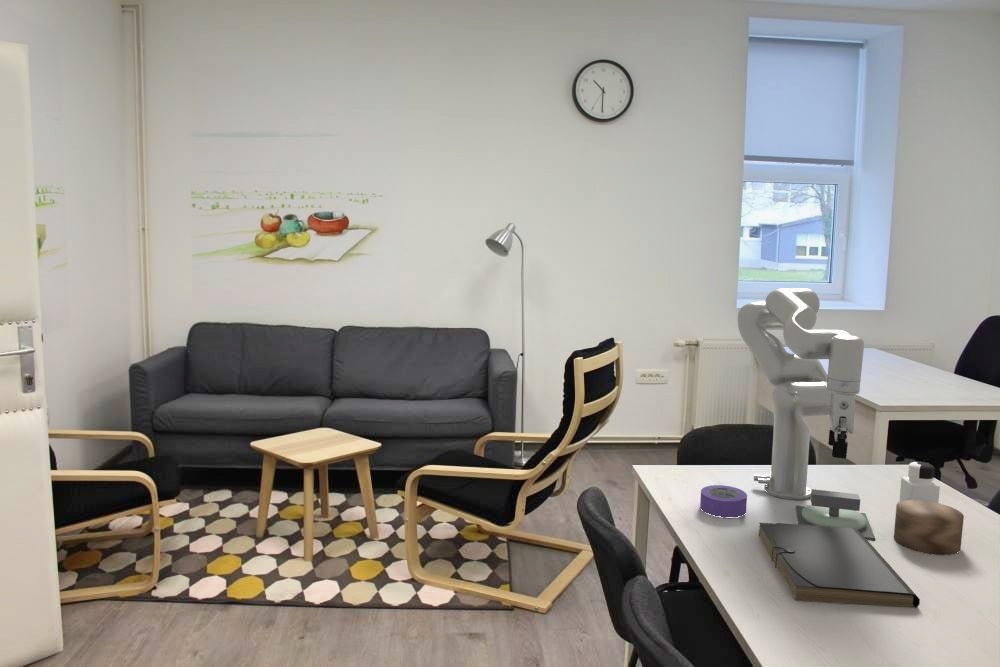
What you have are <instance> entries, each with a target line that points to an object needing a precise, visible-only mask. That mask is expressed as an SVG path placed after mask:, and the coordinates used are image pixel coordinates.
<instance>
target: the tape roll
mask: <svg viewBox="0 0 1000 667" xmlns="http://www.w3.org/2000/svg"><path fill="white" fill-rule="evenodd" d="M747 502H748V494H747V493H746V492H745V491H744V490H743V489H741V488H737V487H736V486H735V487H734V486H729V485H723V484H714V485H707V486H704V487H702V488H701V490H700V502H699V503H700V504H699V505H700V506H699V509H700V508H701V509H702V510H703V511H704V512H706V513H709V514H711V515H715V516H721V517H738V516H742V515H744V514H745V513H746V514H747V504H748V503H747ZM701 509H700V510H701ZM704 512H703V513H704ZM706 513H705V514H706ZM746 514H745V515H746ZM745 515H744V516H745Z"/></svg>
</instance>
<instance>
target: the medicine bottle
mask: <svg viewBox="0 0 1000 667" xmlns="http://www.w3.org/2000/svg"><path fill="white" fill-rule="evenodd" d="M935 470H936V468H935V466H934V465H932V464H930V463H929V462H924V461H913V462H910V463H909V464H908V471H907V472H908V473H907V476H901V479H900V490H899V502H901V501H906V500H921V501H929V502H935V503H939V502H940V501H939V500H940V499H939V498H940V492H941V491H940V490H941V486H940V485H938V483H936V482H934V480H935Z"/></svg>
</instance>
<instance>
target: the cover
mask: <svg viewBox="0 0 1000 667" xmlns="http://www.w3.org/2000/svg"><path fill="white" fill-rule="evenodd" d="M810 489H811V497H810V503H811V504H809V505H806V506H805V505H804V506H805V507H804V508H803V509H802V519H803V520H804V521H805V522H807V523H808V524H810V525H816V526H830V527H845V528H854V529H857V530H858V531H862V530H864V529H865V527H866V518H865V517H864V516H863V515H862V514H861V513H862V512H860V508H861V498H860V495H859V494H858V493H849V492H842V491H841V492H839V491H831V490H823V489H815V488H813V489H812V488H810Z"/></svg>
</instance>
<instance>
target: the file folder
mask: <svg viewBox="0 0 1000 667" xmlns="http://www.w3.org/2000/svg"><path fill="white" fill-rule="evenodd" d="M758 523H759V529H758V536H759V537H760V538H761V540H762V542H763V545H764V546H765V548H766V550H767V552H768V554H769V555H770V557H771V560H773V561H774V562H775V569H777V568H778V570H779V571H780V573H781V574H782V575H783V577H784V578H785V579H786V581H787V584H789V587H790V589H791V593H792V596H793V597H794V600H795V601H801V602H802V601H803V602H813V603H814V602H817V603H830V604H843V605H844V604H847V605H849V604H850V605H851V604H853V605H854V604H855V605H872V606H886V607H900V608H901V607H902V608H903V607H905V608H906V607H907V608H913V606H914V608H915V609H916V608H918V607H919V606H920V604H921V603H920V601H921V599H920V597H919V596H918V595H916V593H915V592H914V591H913V590H912V588H910V586H909V585H908V584H907V583H906V582H905V580H903V578H902V577H901V576H900V575H899V574H898V573H897V572H896V571H895V569H893V567H892V566H891V565H890V564H889V562H887V561H886V559H885V558H884V557H883V556H882V555H881V554H880V553H879V552H878V550H877V549H876V548H875V547H874V545H872V544H871V543H870V541H868V539H866V538H865V537H864V536H863V535H862V534H861V533H860V532H859V531H858V530H857V529H854V528H845V527H830V526H816V525H801V524H798V523H783V522H777V523H771V522H760V521H759V522H758Z"/></svg>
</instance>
